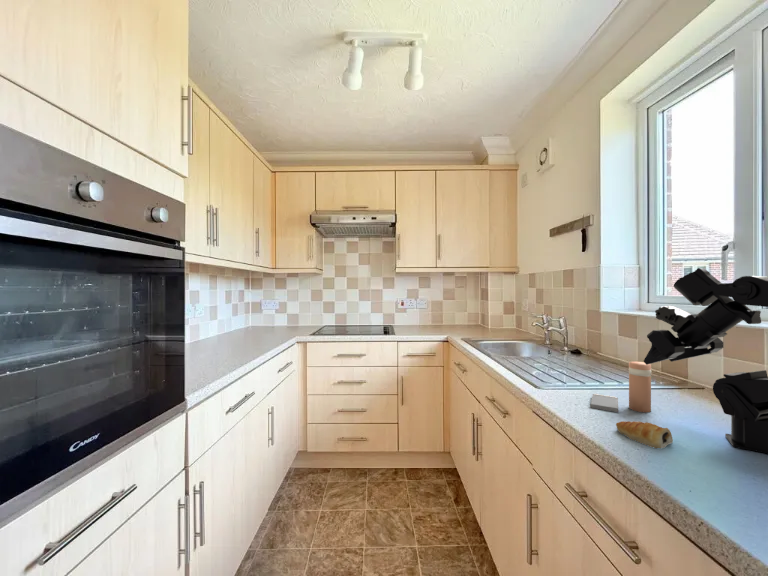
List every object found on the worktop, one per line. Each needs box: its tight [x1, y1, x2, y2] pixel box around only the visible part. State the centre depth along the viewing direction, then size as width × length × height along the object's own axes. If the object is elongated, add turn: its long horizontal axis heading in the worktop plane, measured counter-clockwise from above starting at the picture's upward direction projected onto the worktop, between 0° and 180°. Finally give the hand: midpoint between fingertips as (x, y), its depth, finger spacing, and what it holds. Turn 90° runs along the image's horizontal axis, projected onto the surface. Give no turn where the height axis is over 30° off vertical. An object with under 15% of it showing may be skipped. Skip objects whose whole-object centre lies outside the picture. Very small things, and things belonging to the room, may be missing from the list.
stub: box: [628, 361, 652, 414], centre depth 89 cm, size 5×5×12 cm
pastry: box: [615, 420, 674, 449], centre depth 72 cm, size 9×7×4 cm
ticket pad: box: [590, 393, 619, 413], centre depth 92 cm, size 10×6×1 cm, turn 146°
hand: (657, 361), depth 85 cm, fingers open, 9 cm apart
